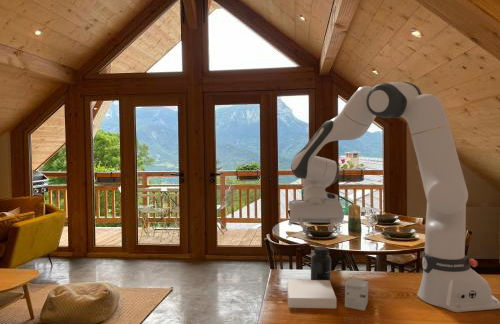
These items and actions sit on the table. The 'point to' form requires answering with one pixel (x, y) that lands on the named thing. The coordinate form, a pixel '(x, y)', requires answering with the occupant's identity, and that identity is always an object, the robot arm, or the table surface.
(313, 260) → the supplement bottle
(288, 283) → the stand
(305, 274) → the table surface
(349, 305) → the skincare box
